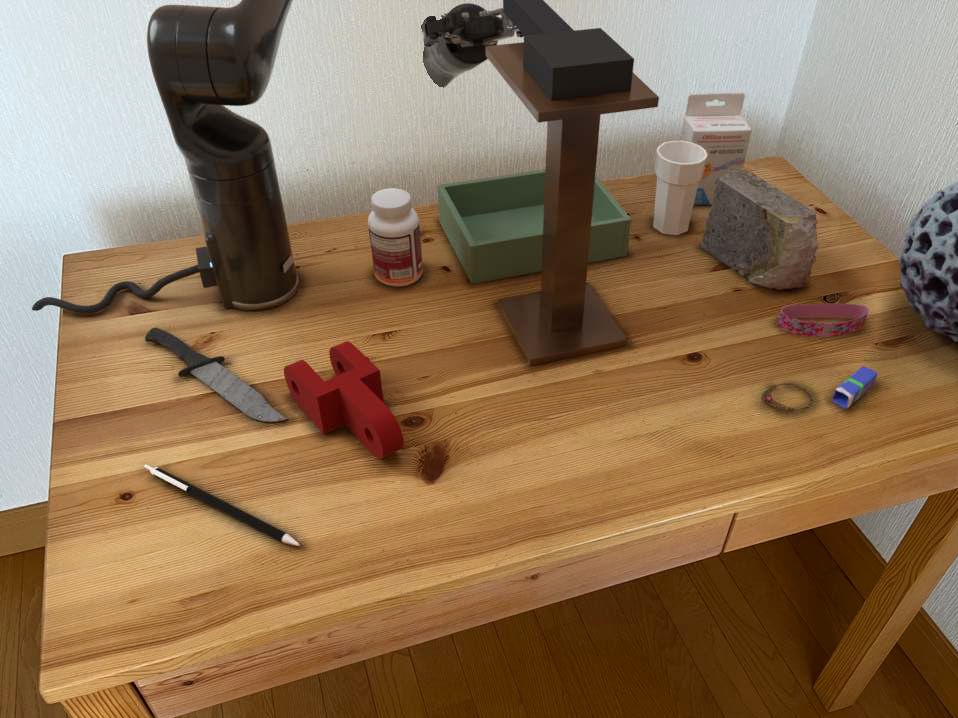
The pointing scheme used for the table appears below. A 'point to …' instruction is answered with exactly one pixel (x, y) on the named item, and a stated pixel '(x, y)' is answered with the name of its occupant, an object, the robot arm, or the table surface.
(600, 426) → the table surface
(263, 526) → the pen
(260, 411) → the knife
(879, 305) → the table surface
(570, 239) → the shelf stand
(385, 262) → the pill bottle
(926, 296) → the decorative object
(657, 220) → the cup
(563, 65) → the bar
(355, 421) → the mechanical linkage
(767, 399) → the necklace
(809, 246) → the geological specimen
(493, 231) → the bin
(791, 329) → the headband
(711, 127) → the ink box
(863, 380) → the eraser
